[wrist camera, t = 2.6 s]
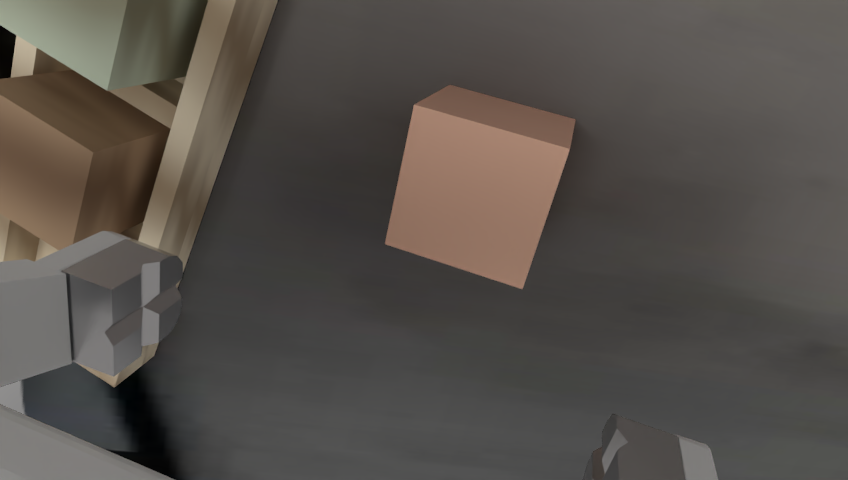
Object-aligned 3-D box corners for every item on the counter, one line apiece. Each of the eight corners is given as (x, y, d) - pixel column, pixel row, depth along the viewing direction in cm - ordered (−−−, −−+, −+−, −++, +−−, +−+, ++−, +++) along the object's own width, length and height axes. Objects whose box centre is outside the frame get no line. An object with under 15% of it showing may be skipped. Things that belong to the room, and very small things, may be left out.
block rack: (154, 355, 32) (67, 425, 27) (30, 276, 33) (-81, 330, 28) (300, -66, 22) (204, -87, 17) (115, -175, 22) (-39, -232, 17)
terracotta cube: (536, 235, 24) (522, 289, 19) (423, 200, 25) (384, 243, 20) (575, 118, 22) (569, 149, 17) (450, 84, 23) (414, 104, 18)
